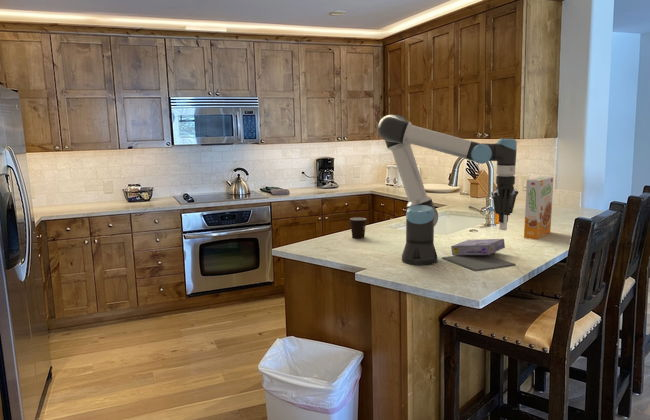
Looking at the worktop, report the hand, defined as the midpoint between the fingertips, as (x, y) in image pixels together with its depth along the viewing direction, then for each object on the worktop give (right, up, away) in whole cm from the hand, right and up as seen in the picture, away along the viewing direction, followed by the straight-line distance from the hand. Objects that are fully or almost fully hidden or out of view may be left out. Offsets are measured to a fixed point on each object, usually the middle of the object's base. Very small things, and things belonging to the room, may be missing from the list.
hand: (502, 229), depth 216 cm
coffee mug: (-58, -6, +50) cm, 77 cm away
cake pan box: (-1, -7, +3) cm, 8 cm away
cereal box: (+35, -5, +49) cm, 60 cm away
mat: (-12, -13, -3) cm, 18 cm away
